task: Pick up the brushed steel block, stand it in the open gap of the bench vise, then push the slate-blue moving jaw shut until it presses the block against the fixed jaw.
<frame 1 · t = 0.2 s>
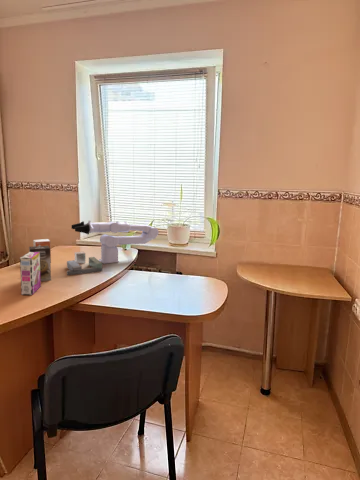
hand: (73, 228, 182), 21 cm above the table, tool horizontal, fingers open, 7 cm apart
coffee box: (40, 279, 161), on the table
candy bar box: (31, 291, 146), on the table
vise: (86, 268, 182), on the table
small box: (42, 263, 189), on the table
vise jaw: (74, 267, 176), point 2 cm above the table, slide at 0.0 cm
steel block: (80, 262, 192), on the table
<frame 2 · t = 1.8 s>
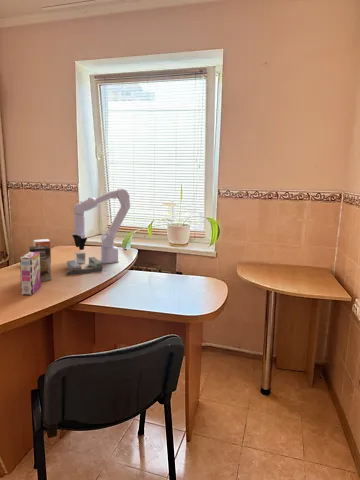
hand: (79, 248, 190), 8 cm above the table, tool pointing down, fingers open, 7 cm apart
nothing on the table moved.
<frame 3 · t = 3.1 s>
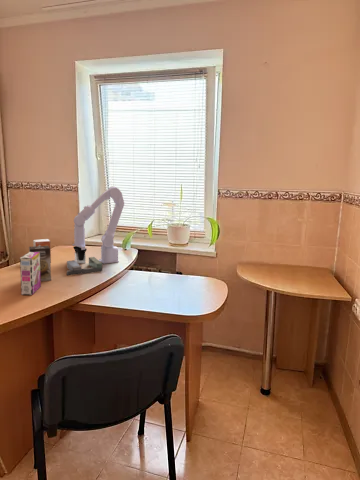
hand: (80, 259, 192), 2 cm above the table, tool pointing down, fingers closed on steel block, 4 cm apart
steel block: (80, 262, 192), on the table, touching gripper
everything else where it was.
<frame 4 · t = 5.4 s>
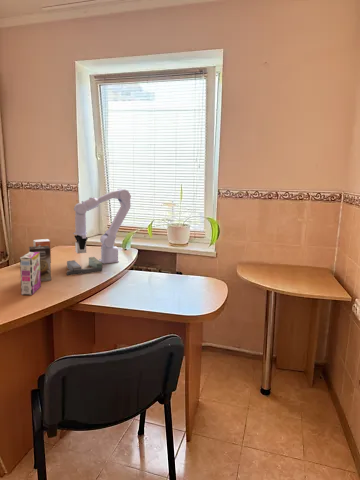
hand: (81, 248, 188), 9 cm above the table, tool pointing down, fingers closed on steel block, 4 cm apart
steel block: (80, 252, 188), point 7 cm above the table, touching gripper
everything else where it was.
when the fingers open (3 cm above the table, at t = 7.6 s): steel block stays where it is, on the table.
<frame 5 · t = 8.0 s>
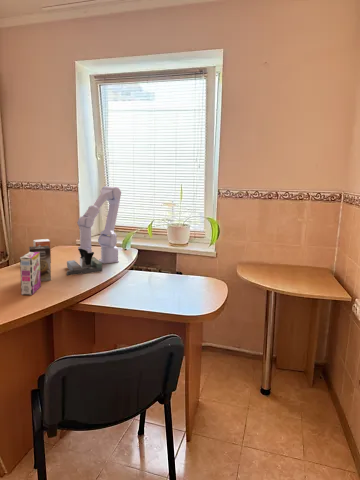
hand: (86, 262, 182), 3 cm above the table, tool pointing down, fingers open, 7 cm apart
steel block: (85, 268, 182), on the table
everything else where it was.
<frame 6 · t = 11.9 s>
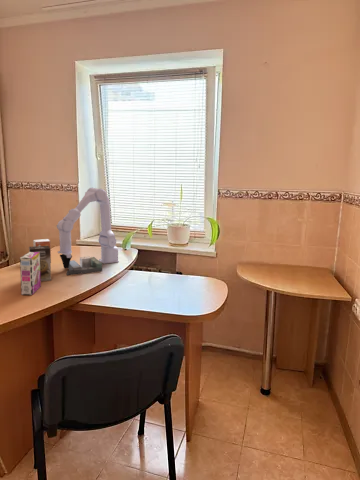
hand: (66, 267, 176), 1 cm above the table, tool pointing down, fingers closed, pressing on vise jaw
vise jaw: (74, 267, 176), point 2 cm above the table, slide at 0.0 cm, touching gripper
everything else where it was.
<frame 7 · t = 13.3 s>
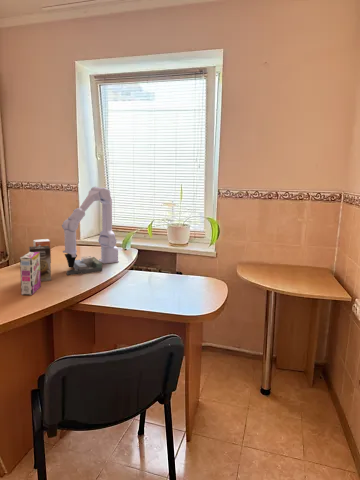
hand: (71, 267, 178), 1 cm above the table, tool pointing down, fingers closed
vise jaw: (79, 266, 178), point 2 cm above the table, slide at 3.0 cm, touching steel block
steel block: (87, 267, 182), on the table, touching vise, vise jaw
everything else where it was.
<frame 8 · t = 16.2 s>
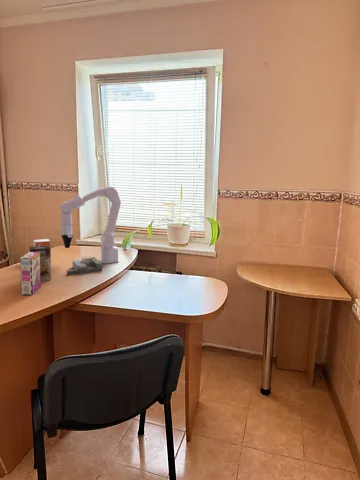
hand: (67, 247, 186), 9 cm above the table, tool pointing down, fingers closed
nothing on the table moved.
at the end: steel block 0.3 cm from the target spot, on the table; steel block tilted 0°; steel block touching table, vise, vise jaw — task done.
